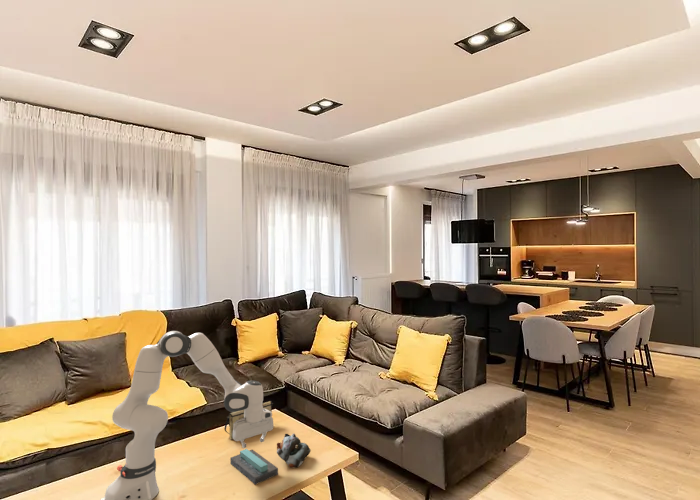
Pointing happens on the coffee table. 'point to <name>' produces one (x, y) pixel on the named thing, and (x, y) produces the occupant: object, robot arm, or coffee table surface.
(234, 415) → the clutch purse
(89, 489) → the coffee table surface
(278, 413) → the coffee table surface
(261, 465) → the peg strip
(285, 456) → the lucky cat figurine
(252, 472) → the hole plate
